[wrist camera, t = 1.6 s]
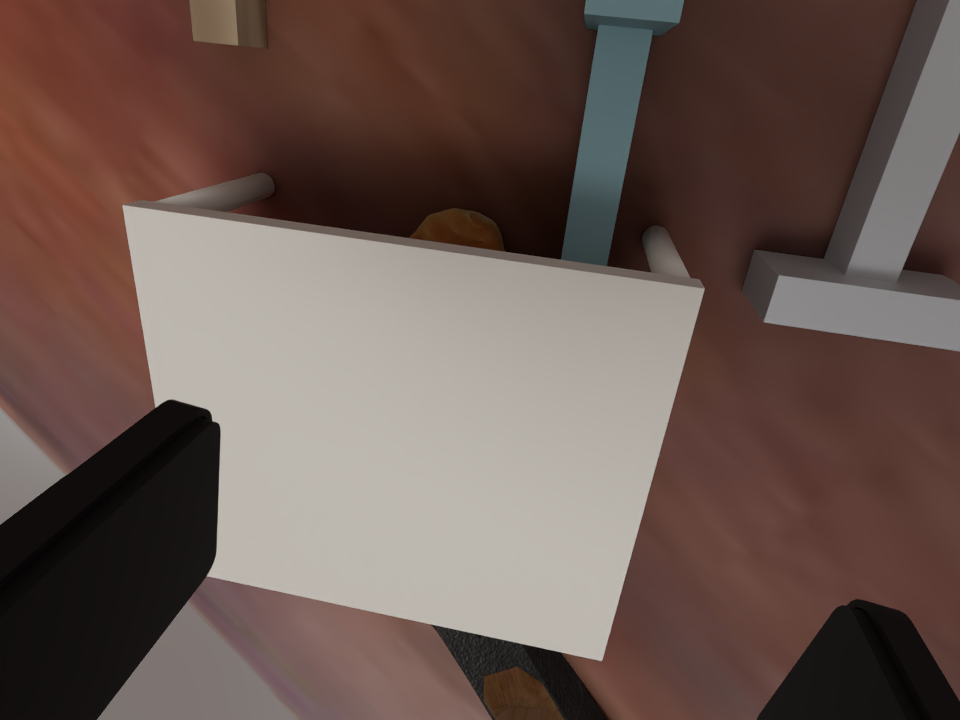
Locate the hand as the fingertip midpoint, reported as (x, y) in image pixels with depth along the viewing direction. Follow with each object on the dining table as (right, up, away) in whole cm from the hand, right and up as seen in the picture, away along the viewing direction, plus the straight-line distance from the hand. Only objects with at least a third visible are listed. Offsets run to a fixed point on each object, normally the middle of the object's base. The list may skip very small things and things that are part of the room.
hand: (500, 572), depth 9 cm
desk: (-2, +3, +23) cm, 23 cm away
